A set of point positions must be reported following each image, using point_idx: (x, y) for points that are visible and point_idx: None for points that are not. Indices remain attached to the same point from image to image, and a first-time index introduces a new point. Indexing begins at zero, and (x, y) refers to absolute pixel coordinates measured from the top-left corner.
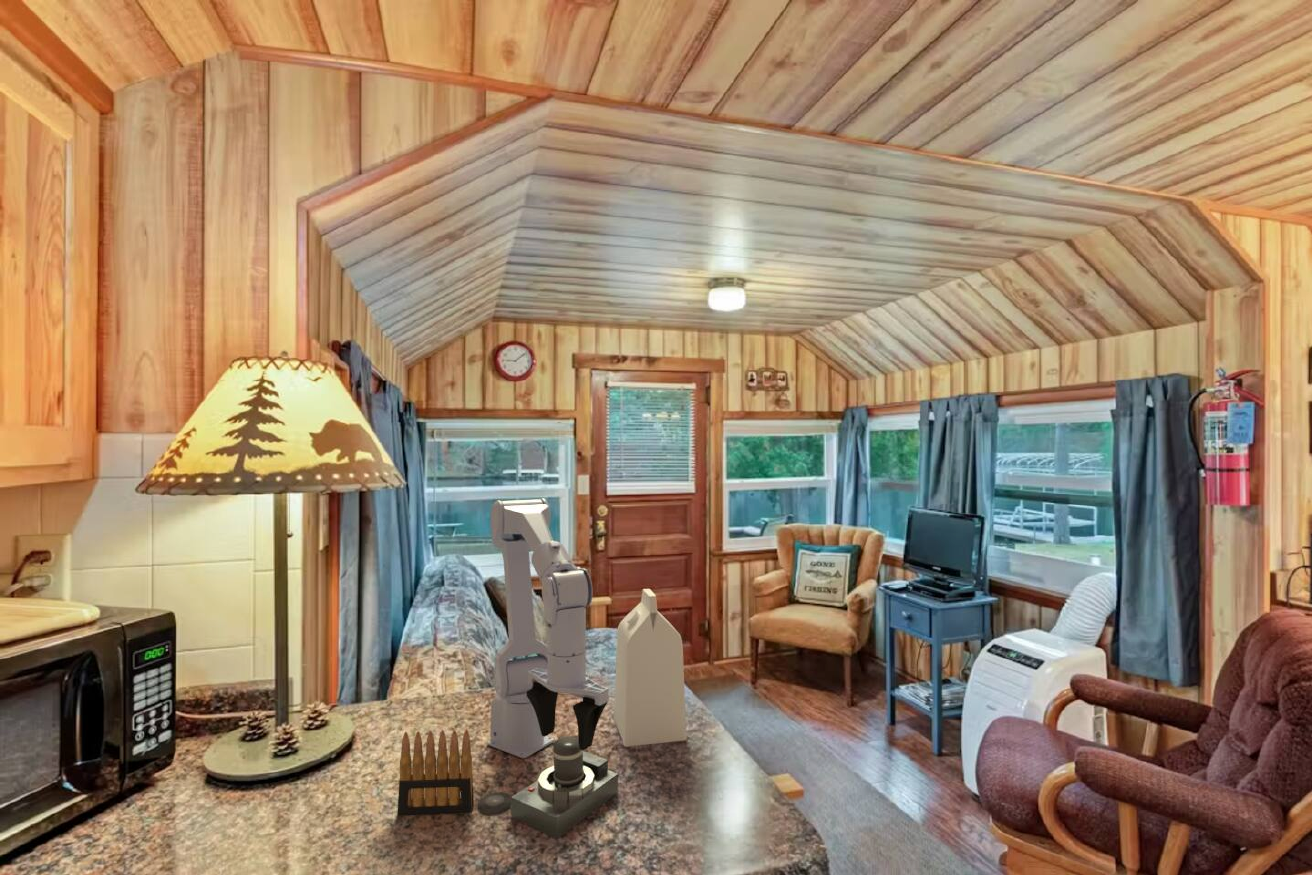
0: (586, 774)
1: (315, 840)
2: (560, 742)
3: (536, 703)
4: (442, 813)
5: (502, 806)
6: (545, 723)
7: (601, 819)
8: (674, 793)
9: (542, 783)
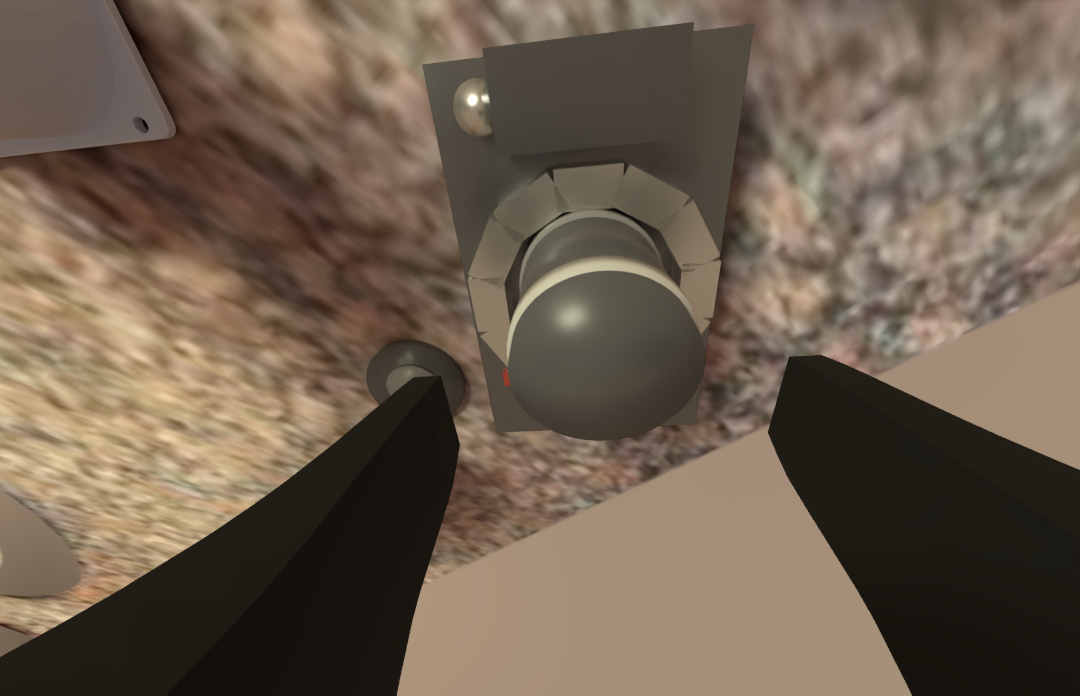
0: (658, 226)
1: None
2: (551, 385)
3: None
4: None
5: (452, 388)
6: (431, 506)
7: (747, 243)
8: None
9: None
